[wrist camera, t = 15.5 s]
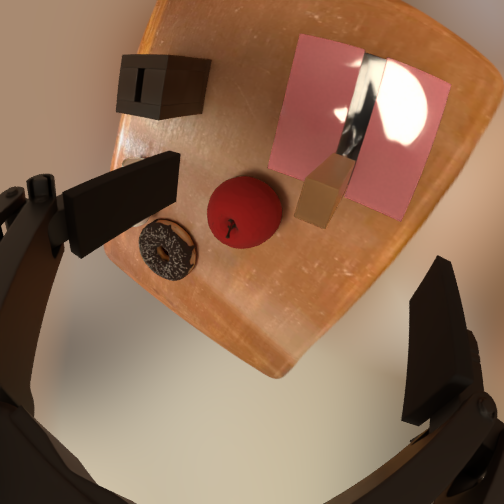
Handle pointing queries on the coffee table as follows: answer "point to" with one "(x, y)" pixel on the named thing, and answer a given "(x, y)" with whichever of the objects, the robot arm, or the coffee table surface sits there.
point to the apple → (244, 212)
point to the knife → (325, 188)
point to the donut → (173, 242)
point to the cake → (359, 120)
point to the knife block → (162, 85)
